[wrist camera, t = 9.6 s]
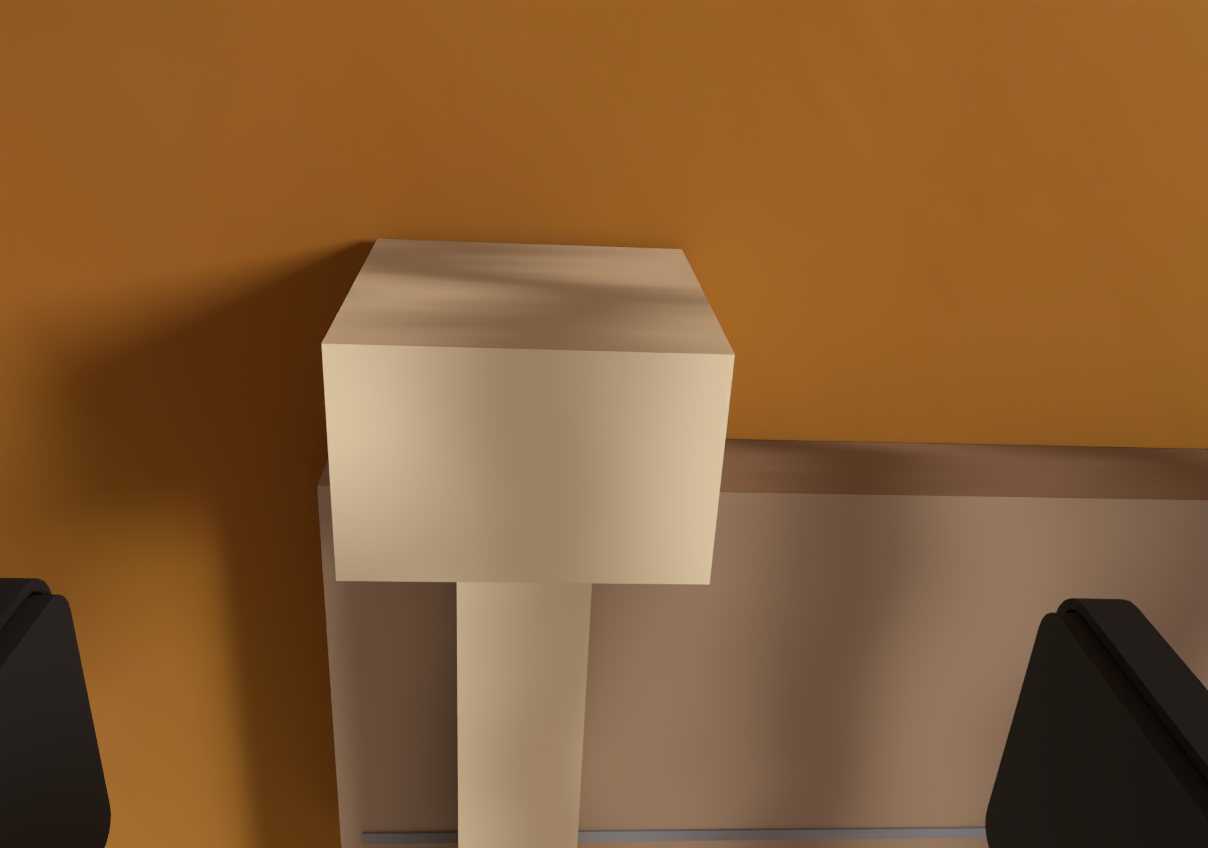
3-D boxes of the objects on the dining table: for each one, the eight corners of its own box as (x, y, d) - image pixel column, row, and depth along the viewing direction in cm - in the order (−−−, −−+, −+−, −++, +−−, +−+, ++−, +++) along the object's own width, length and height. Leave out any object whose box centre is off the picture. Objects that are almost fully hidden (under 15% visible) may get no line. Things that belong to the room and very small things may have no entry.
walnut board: (360, 820, 27) (344, 903, 25) (338, 431, 22) (316, 486, 20) (1108, 814, 29) (1159, 891, 26) (1227, 449, 24) (1301, 503, 22)
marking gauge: (398, 823, 27) (364, 1048, 21) (377, 238, 21) (320, 343, 15) (633, 821, 27) (659, 1041, 22) (681, 249, 21) (734, 354, 16)
